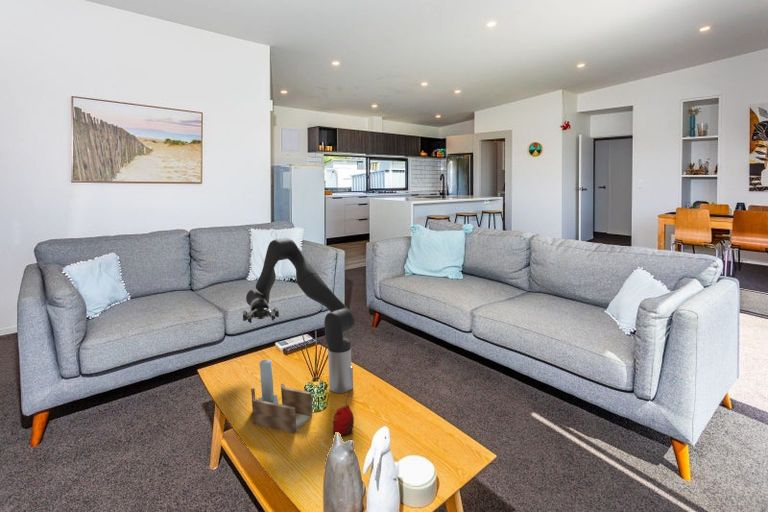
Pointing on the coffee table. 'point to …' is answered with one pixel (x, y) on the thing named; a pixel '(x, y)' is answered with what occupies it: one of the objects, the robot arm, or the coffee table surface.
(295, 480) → the coffee table surface
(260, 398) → the pad
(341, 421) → the red clay folk toy
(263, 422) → the channel
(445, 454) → the coffee table surface
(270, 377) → the baton
